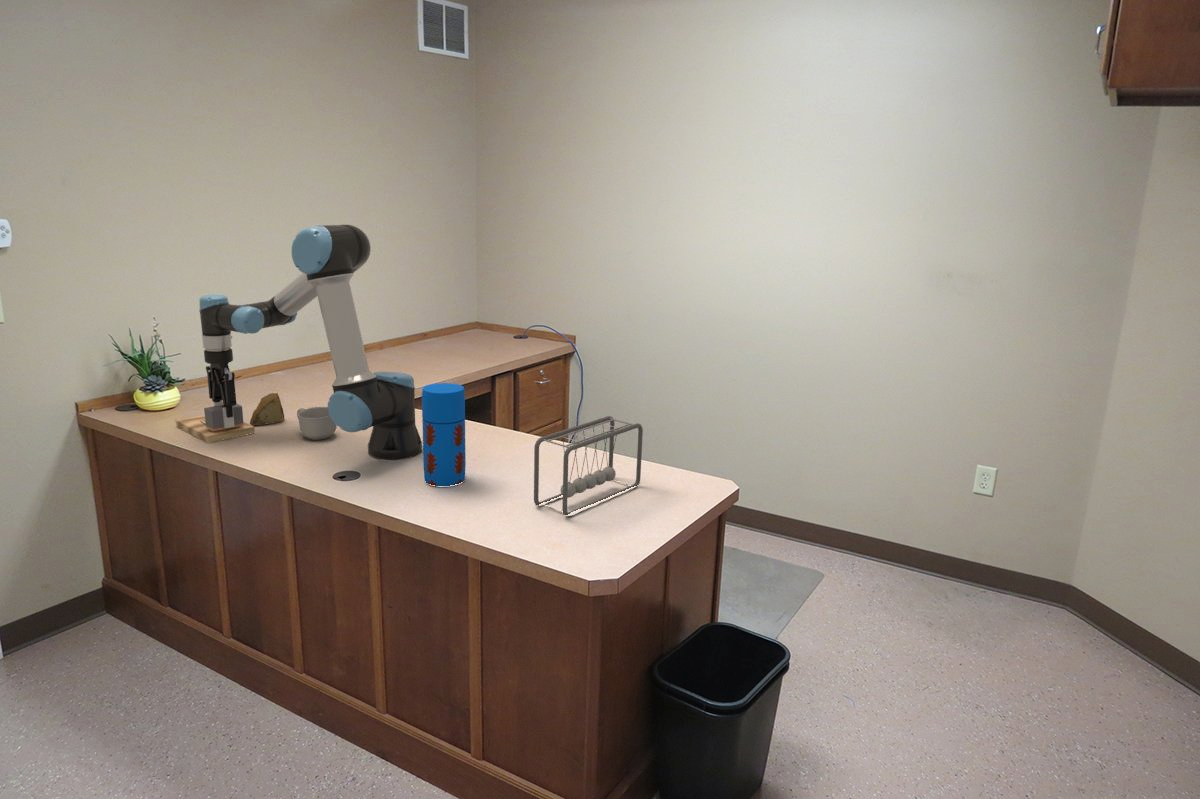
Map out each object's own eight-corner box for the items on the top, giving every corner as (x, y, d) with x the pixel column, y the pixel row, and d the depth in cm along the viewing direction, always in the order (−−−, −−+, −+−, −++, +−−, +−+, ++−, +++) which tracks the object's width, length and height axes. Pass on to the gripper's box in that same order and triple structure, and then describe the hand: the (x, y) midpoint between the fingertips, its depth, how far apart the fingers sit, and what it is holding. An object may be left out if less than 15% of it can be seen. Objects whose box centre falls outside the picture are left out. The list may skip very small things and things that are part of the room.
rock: (246, 422, 250) (280, 416, 252) (243, 396, 253) (277, 391, 255) (254, 433, 260) (287, 428, 262) (251, 409, 263) (284, 403, 265)
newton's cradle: (564, 520, 193) (566, 448, 188) (532, 508, 199) (533, 438, 195) (640, 486, 215) (644, 422, 211) (609, 476, 222) (612, 413, 217)
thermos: (446, 490, 208) (444, 395, 201) (415, 481, 213) (412, 388, 207) (474, 478, 217) (473, 387, 210) (443, 470, 222) (442, 380, 216)
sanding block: (243, 425, 246) (242, 406, 244) (213, 431, 239) (211, 411, 238) (236, 421, 249) (234, 402, 247) (205, 427, 242) (204, 408, 241)
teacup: (344, 437, 246) (342, 411, 244) (310, 445, 239) (308, 418, 237) (320, 427, 256) (319, 402, 253) (287, 434, 248) (285, 408, 246)
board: (255, 433, 247) (254, 426, 247) (208, 443, 237) (207, 436, 237) (222, 417, 261) (221, 411, 261) (176, 426, 251) (175, 420, 251)
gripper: (245, 351, 235) (251, 429, 241) (217, 342, 246) (223, 416, 252) (219, 355, 229) (226, 434, 235) (191, 345, 241) (199, 421, 247)
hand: (225, 424), depth 244 cm, fingers closed on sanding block, 5 cm apart
